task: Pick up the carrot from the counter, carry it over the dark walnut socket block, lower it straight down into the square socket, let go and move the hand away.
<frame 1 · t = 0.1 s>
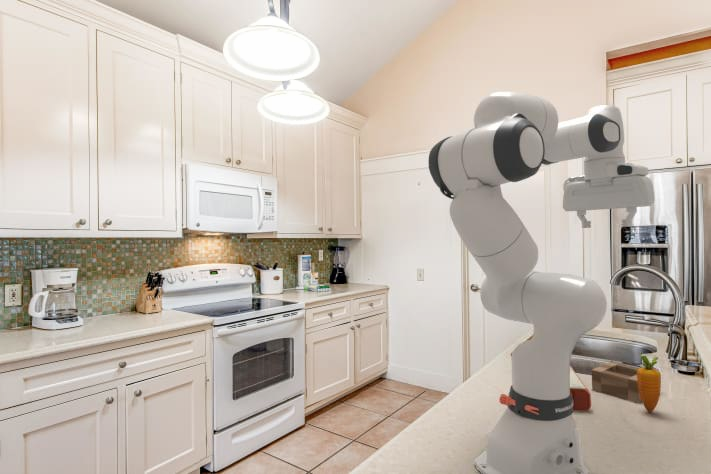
hand: (605, 227, 101), 48 cm above the table, tool pointing down, fingers open, 8 cm apart
carrot: (649, 413, 103), on the table
snack package: (569, 397, 115), on the table
socket block: (624, 391, 117), on the table
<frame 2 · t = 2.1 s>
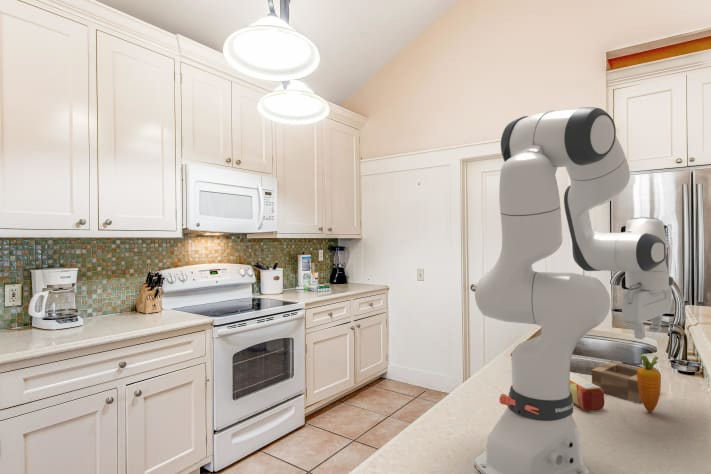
hand: (647, 335, 103), 20 cm above the table, tool pointing down, fingers open, 8 cm apart
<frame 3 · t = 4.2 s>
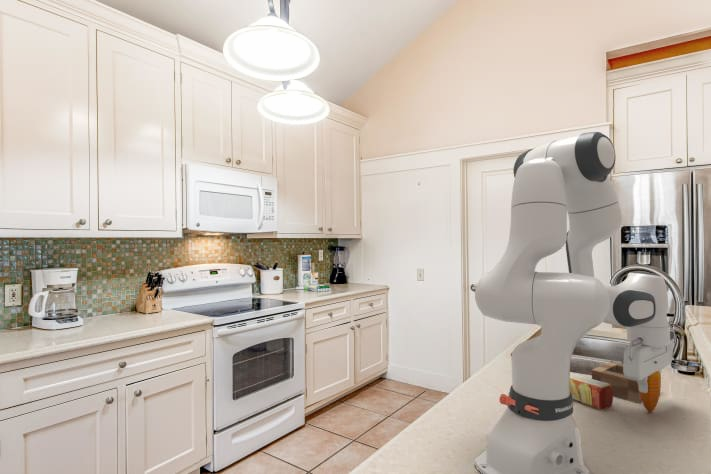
hand: (649, 389, 103), 6 cm above the table, tool pointing down, fingers closed on carrot, 4 cm apart
carrot: (649, 413, 103), on the table, touching gripper
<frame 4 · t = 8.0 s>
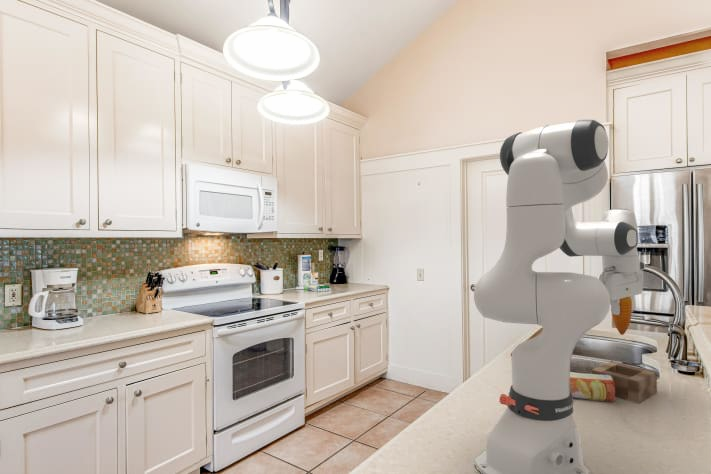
hand: (621, 312, 117), 23 cm above the table, tool pointing down, fingers closed on carrot, 4 cm apart
carrot: (621, 335, 117), point 16 cm above the table, touching gripper
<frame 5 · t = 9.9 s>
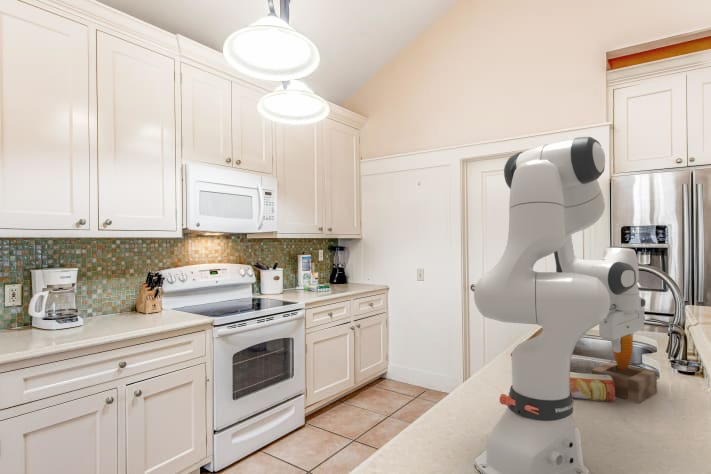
hand: (622, 349, 117), 12 cm above the table, tool pointing down, fingers closed on carrot, 4 cm apart
carrot: (622, 372, 117), point 5 cm above the table, touching gripper
when the fingers open (7 cm above the table, at t = 11.6 s): carrot drops 1 cm, resting in socket block.
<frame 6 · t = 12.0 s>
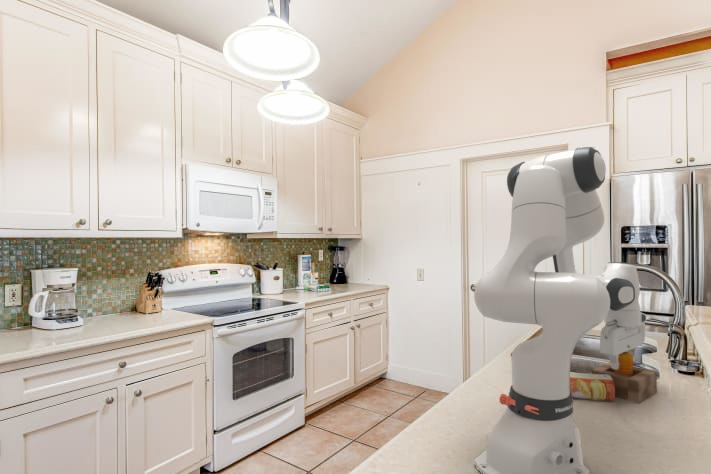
hand: (623, 365, 117), 8 cm above the table, tool pointing down, fingers open, 8 cm apart
carrot: (623, 391, 117), resting in socket block
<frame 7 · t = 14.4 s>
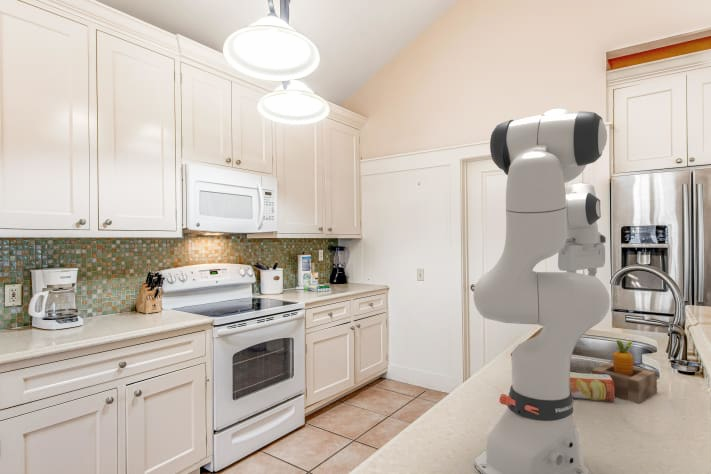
hand: (582, 284, 120), 31 cm above the table, tool pointing down, fingers open, 8 cm apart
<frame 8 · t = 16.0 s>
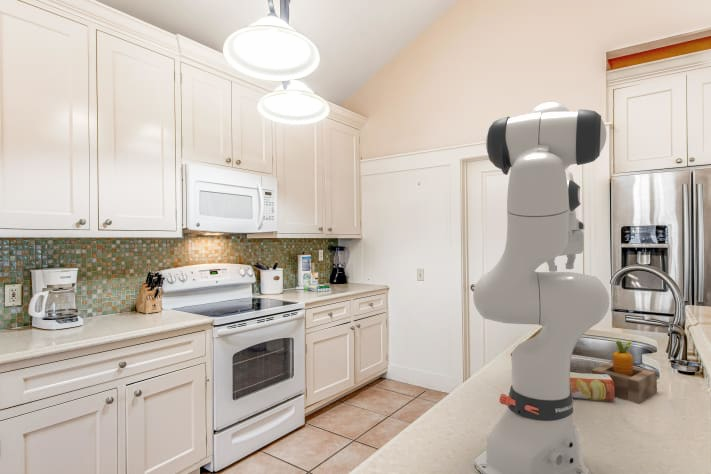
hand: (561, 270, 123), 35 cm above the table, tool pointing down, fingers open, 8 cm apart
at the end: carrot 0.1 cm off-centre on the socket block, point 0.0 cm above the socket block's base; carrot tilted 1°; the gripper is holding nothing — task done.
